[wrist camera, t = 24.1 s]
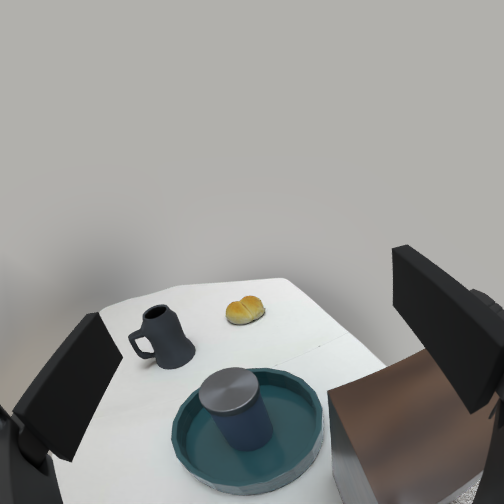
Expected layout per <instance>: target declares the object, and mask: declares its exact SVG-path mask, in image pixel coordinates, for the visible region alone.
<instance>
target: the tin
mask: <svg viewBox="0 0 504 504" xmlns="http://www.w3.org/2000/svg"><path fill="white" fill-rule="evenodd" d="M199 399H200V401H201V403H202V405H203V407H204V408H205V409H206V410H207V411H208V412H209V413H210V415H211V417H212V418H213V420H214V422H215V423H216V425H217V427H218V428H219V430H220V431H221V433H222V434H223V436H224V438H225V439H226V441H227V442H228V444H229V445H230V446H231V447H233V448H234V449H236V450H239V451H253V450H257V449H259V448H261V447H263V446H264V445H265V444H267V443H268V441H269V440H270V439H271V437H272V434H273V426H272V423H271V421H270V418H269V415H268V413H267V410H266V407H265V404H264V402H263V399H262V396H261V393H260V386H259V383H258V380H257V378H256V376H255V375H254V374H253V373H252V372H251V371H249V370H247V369H244V368H237V367H233V368H226V369H222V370H220V371H217V372H215V373H213V374H212V375H210V376H209V377H208V378H207V379H206V380H205V381H204V382H203V383H202V385H201V387H200V390H199Z"/></svg>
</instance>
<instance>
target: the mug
mask: <svg viewBox="0 0 504 504" xmlns="http://www.w3.org/2000/svg"><path fill="white" fill-rule="evenodd" d="M144 336H145V337H146V338H147V339H148V340H149V341H150V343H151V345H152V347H153V349H154V353H149V352H142V351H141V350H140V349H139V348H138V346H137V344H136V342H135V339H138V338H142V337H144ZM128 338H129V341H130V343H131V345H132V347H133V349H134V350H135V352H136V353H137V355H138V356H139V357H141V358H143V359H148V358H154V357H156V361H157V364H158V365H159V367H161V368H163V369H175V368H178V367H181V366H183V365H185V364H186V363H188V362H189V361H190V360H191V359H192V358H193V356H194V355H195V347H194V345H193V344H192V343H191V341H190V340H189V339H187V338H186V337H185V335H184V332H183V330H182V327H181V324H180V322H179V319H178V317H177V315H176V313H175V312H173V311H172V310H170V309H169V307H168V306H167V305H164V304H163V305H156V306H153V307H151V308H149V309H148V310H146V311H145V312H144V314H143V322H142V325H141V329H139V330H137V331H135V332H133V333H131V334H130V335H129V336H128Z"/></svg>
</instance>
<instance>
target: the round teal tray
mask: <svg viewBox="0 0 504 504" xmlns="http://www.w3.org/2000/svg"><path fill="white" fill-rule="evenodd" d="M247 370H249V371H251V372H252V373H253V374H254V375H255V376H256V378H257V380H258V383H259V386H260V393H261V396H262V399H263V402H264V404H265V407H266V410H267V413H268V415H269V418H270V421H271V423H272V426H273V434H272V437H271V439H270V440H269V441H268V443H267V444H265V445H264V446H263V447H261V448H259V449H257V450H253V451H239V450H236V449H234V448H233V447H231V446H230V445H229V444H228V442H227V441H226V439H225V438H224V436H223V434H222V433H221V431H220V430H219V428H218V427H217V425H216V423H215V422H214V420H213V418H212V417H211V415H210V413H209V412H208V411H207V410H206V409H205V408H204V407H203V405H202V403H201V401H200V399H199V390H200V388H199V389H197V390H196V391H194V392H193V393H192V394H191V395H190V396H189V397H188V398H187V400H186V401H185V402H184V403H183V404H182V405H181V407H180V408H179V411H178V413H177V415H176V417H175V419H174V421H173V426H172V436H171V441H172V444H173V447H174V450H175V453H176V456H177V458H178V459H179V460H180V461H181V463H182V464H183V465H184V466H185V467H186V468H187V469H188V470H189V472H190V473H192V474H193V475H194V476H195V477H196V478H197V479H198V480H199V481H200V482H202V483H204V484H206V485H208V486H209V487H211V488H213V489H216V490H218V491H221V492H225V493H228V494H235V495H255V494H262V493H266V492H270V491H273V490H276V489H278V488H281V487H283V486H285V485H287V484H289V483H290V482H292V481H293V480H295V479H296V478H298V477H299V476H300V475H301V474H302V473H304V472H305V471H306V470H307V469H308V468H309V466H310V465H311V464H312V463H313V461H314V460H315V458H316V456H317V455H318V453H319V450H320V448H321V445H322V442H323V434H324V419H323V410H322V406H321V404H320V402H319V399H318V397H317V394H316V392H315V391H314V390H313V389H312V388H311V387H310V386H309V385H308V384H307V383H306V382H305V381H304V380H303V379H301V378H299V377H297V376H295V375H292V374H290V373H288V372H286V371H281V370H276V369H270V368H252V369H247Z"/></svg>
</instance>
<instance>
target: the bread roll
mask: <svg viewBox="0 0 504 504" xmlns="http://www.w3.org/2000/svg"><path fill="white" fill-rule="evenodd" d="M264 312H265V308H264V307H263V304H262V302H261V300H260V299H259V298H257V297H254V296H246V297H244V298H242V299H241V300H240V301H236V302H232V303H230V304H229V305H228V307H227V309H226V318H227V320H228V321H230V322H231V323H234V324H246V323H249V322H251V321H253V320H255V319H258V318H259V317H261V316H262V315H263V314H264Z"/></svg>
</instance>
